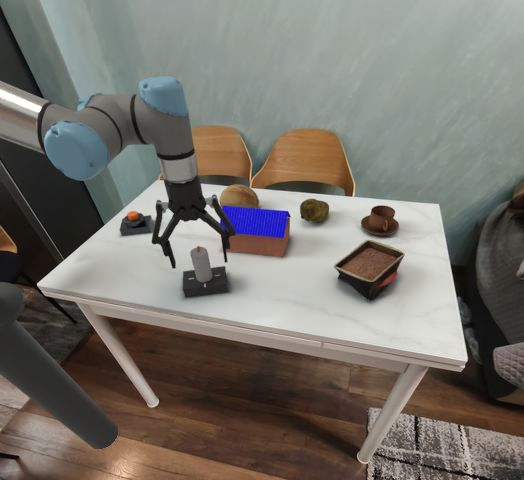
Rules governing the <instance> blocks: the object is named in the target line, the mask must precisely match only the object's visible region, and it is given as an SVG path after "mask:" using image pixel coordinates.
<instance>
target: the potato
mask: <svg viewBox="0 0 524 480" xmlns="http://www.w3.org/2000/svg"><path fill="white" fill-rule="evenodd" d="M299 213H300V218H301V219H302V220H304V221H306V222H307V223H309V222H310V223H312V222H313V223H321V222H323V221H324V220H325V219H327V218H328V216H329V213H330V205H329V203H328V202H326V201H325V200H318V199H316V198H308V199H305V200H304V201H302V203H300V205H299Z"/></svg>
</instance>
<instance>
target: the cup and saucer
mask: <svg viewBox="0 0 524 480" xmlns="http://www.w3.org/2000/svg"><path fill="white" fill-rule="evenodd" d="M395 215H396V210H395V209H394V208H393V207H391V206H388V205H382V204H381V205H380V204H379V205H375V206H373V207H372V208H371V210H370V214H369V215H366V216H364V217H363V218H362V219H361V221H360V226H361V228H362V229H363V230H364V231H365V232H367V233H369V234H371V235H375V236H388V235H392V234H394V233H395V232H397V231H398V229H399V227H400V224H399V222H398V220H396V219H395Z"/></svg>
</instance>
